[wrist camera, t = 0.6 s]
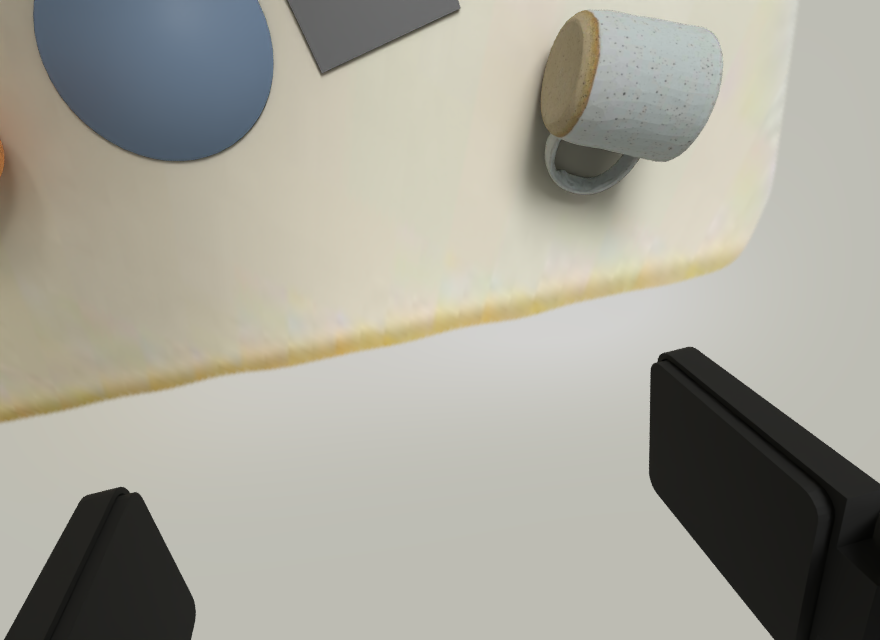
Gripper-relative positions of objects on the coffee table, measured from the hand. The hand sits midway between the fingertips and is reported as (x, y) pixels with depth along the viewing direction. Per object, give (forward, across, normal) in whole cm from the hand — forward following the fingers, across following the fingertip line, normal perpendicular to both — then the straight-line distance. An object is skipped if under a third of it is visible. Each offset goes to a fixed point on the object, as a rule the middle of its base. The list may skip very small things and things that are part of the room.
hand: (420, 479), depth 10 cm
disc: (+29, +8, -9) cm, 31 cm away
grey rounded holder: (+29, -17, -2) cm, 34 cm away
